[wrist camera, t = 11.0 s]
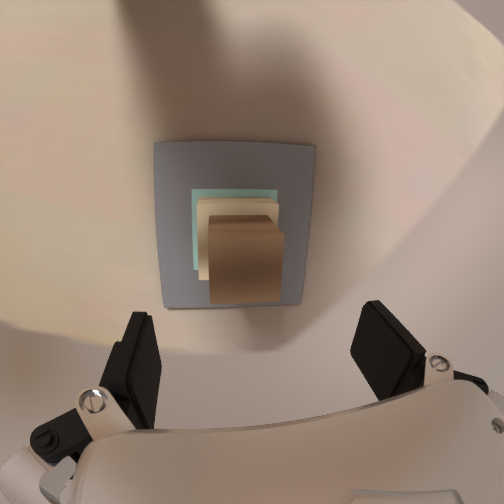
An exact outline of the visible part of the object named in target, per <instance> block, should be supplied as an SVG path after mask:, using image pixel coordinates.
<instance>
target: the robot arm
mask: <svg viewBox="0 0 504 504" xmlns="http://www.w3.org/2000/svg"><path fill="white" fill-rule="evenodd" d="M350 352H351V356H352V358H353V359H354V361H355V362H356V364H357V366H358V367H359V369H360V370H361V372H362V374H363V375H364V377H365V379H366V380H367V382H368V384H369V385H370V387H371V388H372V390H373V392H374V393H375V395H376V397H377V398H378V400H379V401H378V402H375V403H371V404H368V405H364V406H361V407H357V408H353V409H349V410H345V411H341V412H337V413H332V414H327V415H323V416H317V417H312V418H307V419H301V420H295V421H289V422H281V423H274V424H266V425H257V426H246V427H233V428H212V429H211V428H210V429H154V422H155V413H156V405H157V397H158V390H159V383H160V376H161V369H162V365H161V359H160V355H159V350H158V346H157V341H156V336H155V331H154V325H153V320H152V316H151V315H147V312H133V313H132V315H131V318H130V320H129V323H128V325H127V328H126V331H125V333H124V336H123V339H122V341H121V342H118V341H117V342H115V344H114V346H113V348H112V351H111V353H110V356H109V359H108V361H107V364H106V367H105V370H104V372H103V375H102V378H101V381H100V384H99V386H90V387H87V388H85V389H83V390H81V391H80V392H79V393H78V394H77V396H76V398H75V406H76V408H74V409H72V410H70V411H69V412H66V413H65V414H63V415H61V416H59V417H57V418H55V419H53V420H51V421H49V422H47V423H45V424H43V425H40V426H39V427H37V428H36V429H35V430H34V431H33V432H32V434H31V437H30V444H31V445H30V446H28V447H27V448H26V447H25V446H24V447H23V448H21V450H19V451H18V452H17V453H16V454H15V455H14V456H13V457H12V458H11V459H10V460H9V461H8V462H7V463H6V464H5V465H4V466H3V467H2V468H0V490H1V491H2V493H3V494H4V496H5V497H6V498H7V499H8V501H9V502H10V503H11V504H61V503H60V500H59V497H60V493H61V491H62V490H63V489H64V488H65V487H66V486H65V485H64V484H65V483H66V482H67V481H68V480H69V479H73V480H72V485H71V490H70V496H69V502H68V504H504V396H502V395H501V394H499V393H497V392H495V391H493V390H492V389H491V390H490V392H489V389H488V386H487V384H486V383H485V381H484V380H483V379H481V378H478V377H475V376H472V375H468V374H465V373H461V372H458V371H454V370H453V364H452V362H451V360H450V359H448V357H446V356H445V355H442V354H439V353H432V354H430V355H428V356H427V358H426V357H425V353H426V350H425V349H424V347H422V345H421V344H420V343H419V342H418V341H417V340H416V339H415V338H414V337H413V335H411V333H410V332H409V331H408V330H407V329H406V328H405V327H404V326H403V325H402V324H401V323H400V321H399V320H398V319H397V318H396V317H395V316H394V315H393V314H392V313H391V312H390V311H389V310H388V309H387V308H386V307H385V306H384V305H383V304H382V303H381V302H380V301H379V300H375V301H368V302H366V304H365V305H364V306H363V308H362V311H361V315H360V318H359V322H358V326H357V329H356V333H355V336H354V339H353V342H352V346H351V349H350Z"/></svg>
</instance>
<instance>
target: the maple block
mask: <svg viewBox="0 0 504 504" xmlns="http://www.w3.org/2000/svg"><path fill="white" fill-rule="evenodd" d="M278 214H279V204H278V203H277V202H276V201H274V200H273V199H272V198H270V197H199V199H198V202H197V244H198V271H199V280H209V266H208V224H209V216H213V215H268V216H269V217H270V218H271V220H272V221H273V222H274V223H275V224H276V226H277V227H278Z"/></svg>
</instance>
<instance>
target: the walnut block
mask: <svg viewBox="0 0 504 504" xmlns="http://www.w3.org/2000/svg"><path fill="white" fill-rule="evenodd" d="M284 237H285V235H284V234H283V233H282V231H281V230H280V229H279V228H278V227H277V226H276V224H275V223H274V222H273V221H272V220H271V218H270V217H269V216H268V215H213V216H209V224H208V266H209V290H210V304H238V303H261V302H279V301H280V291H281V279H282V266H283V252H284Z"/></svg>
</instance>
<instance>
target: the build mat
mask: <svg viewBox="0 0 504 504" xmlns="http://www.w3.org/2000/svg"><path fill="white" fill-rule="evenodd" d="M314 162H315V146H306V145H296V144H283V143H268V142H246V141H181V142H160V143H154V190H155V215H156V232H157V246H158V258H159V268H160V278H161V287H162V295H163V303H164V308H213V307H249V306H272V305H290V304H301V297H302V290H303V282H304V274H305V265H306V256H307V247H308V237H309V227H310V216H311V205H312V192H313V178H314ZM199 197H270V198H272V199H273V200H274V201H276V202H277V203H278V204H279V214H278V228H279V229H280V230H281V231H282V233H283V234H284V235H285V237H284V252H283V266H282V279H281V291H280V301H279V302H261V303H238V304H210V290H209V280H199V271H198V244H197V202H198V199H199Z"/></svg>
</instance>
